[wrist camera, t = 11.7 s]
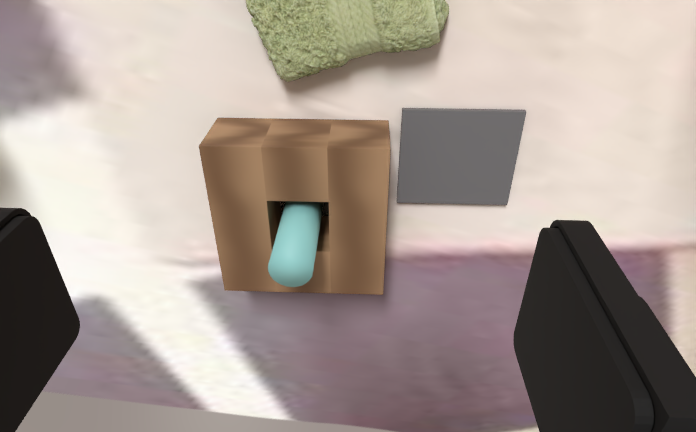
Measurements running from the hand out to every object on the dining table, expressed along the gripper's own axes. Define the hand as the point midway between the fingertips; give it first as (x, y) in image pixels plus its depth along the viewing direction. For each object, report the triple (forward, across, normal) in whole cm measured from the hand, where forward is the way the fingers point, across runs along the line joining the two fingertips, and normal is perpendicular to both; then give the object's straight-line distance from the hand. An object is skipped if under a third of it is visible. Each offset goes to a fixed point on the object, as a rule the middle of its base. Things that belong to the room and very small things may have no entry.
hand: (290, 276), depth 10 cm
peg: (+28, +4, +15) cm, 32 cm away
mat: (+28, -8, +12) cm, 32 cm away
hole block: (+28, +4, +15) cm, 32 cm away
